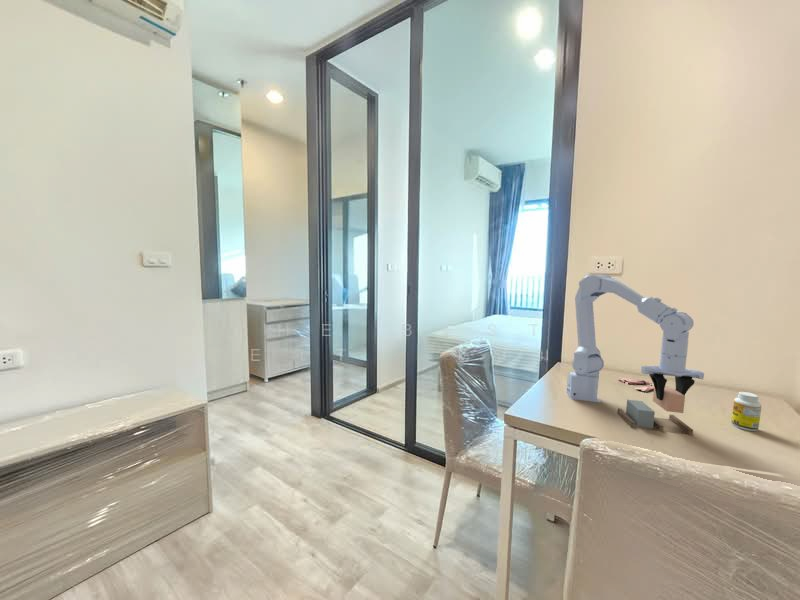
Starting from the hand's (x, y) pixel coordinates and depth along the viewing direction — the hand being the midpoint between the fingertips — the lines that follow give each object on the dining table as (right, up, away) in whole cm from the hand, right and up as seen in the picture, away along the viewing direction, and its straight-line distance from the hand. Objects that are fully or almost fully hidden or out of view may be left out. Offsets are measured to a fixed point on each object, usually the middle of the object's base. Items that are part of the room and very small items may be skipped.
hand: (668, 400), depth 95 cm
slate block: (-7, -7, +2) cm, 10 cm away
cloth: (+18, -6, +36) cm, 41 cm away
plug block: (0, -2, +1) cm, 2 cm away
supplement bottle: (+24, -9, +2) cm, 25 cm away
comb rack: (-4, -8, +2) cm, 9 cm away
